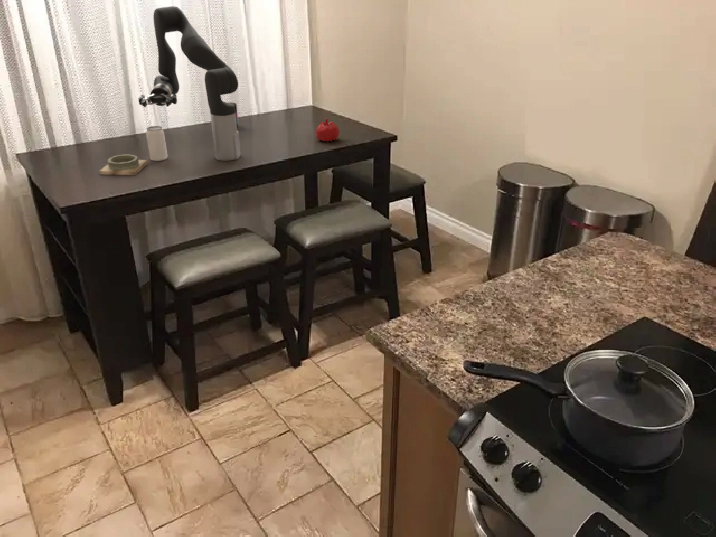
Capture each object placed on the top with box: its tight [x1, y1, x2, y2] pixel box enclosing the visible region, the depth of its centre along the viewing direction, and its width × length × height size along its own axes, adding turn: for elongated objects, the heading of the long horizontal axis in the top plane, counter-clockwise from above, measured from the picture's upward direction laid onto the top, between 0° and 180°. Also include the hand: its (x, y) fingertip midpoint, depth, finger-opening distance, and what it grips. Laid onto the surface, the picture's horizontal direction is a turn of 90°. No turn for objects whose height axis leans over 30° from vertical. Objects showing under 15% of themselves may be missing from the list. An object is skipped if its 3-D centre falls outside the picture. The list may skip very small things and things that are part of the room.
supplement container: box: [228, 101, 239, 128], centre depth 272 cm, size 7×7×10 cm
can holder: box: [99, 153, 149, 176], centre depth 225 cm, size 13×13×4 cm
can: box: [145, 125, 168, 162], centre depth 233 cm, size 6×6×12 cm
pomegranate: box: [315, 118, 341, 142], centre depth 256 cm, size 10×10×9 cm
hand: (155, 104), depth 237 cm, fingers open, 8 cm apart
